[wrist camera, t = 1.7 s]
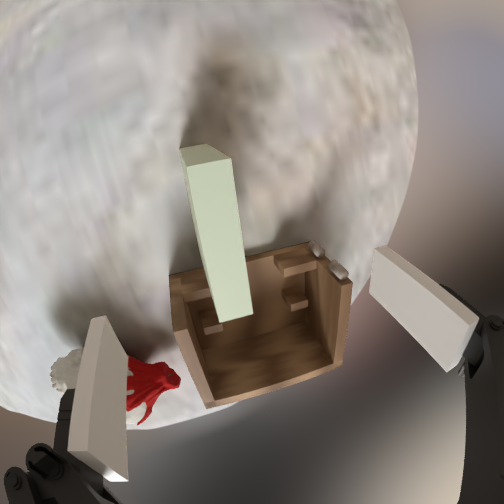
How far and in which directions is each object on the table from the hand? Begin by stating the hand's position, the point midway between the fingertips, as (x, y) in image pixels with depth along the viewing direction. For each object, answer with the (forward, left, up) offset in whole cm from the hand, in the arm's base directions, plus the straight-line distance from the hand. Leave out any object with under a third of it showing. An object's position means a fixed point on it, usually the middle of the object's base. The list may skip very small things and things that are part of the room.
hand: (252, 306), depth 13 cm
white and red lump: (-15, -18, -17) cm, 29 cm away
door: (0, 0, -17) cm, 17 cm away
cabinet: (+3, -13, -17) cm, 21 cm away
